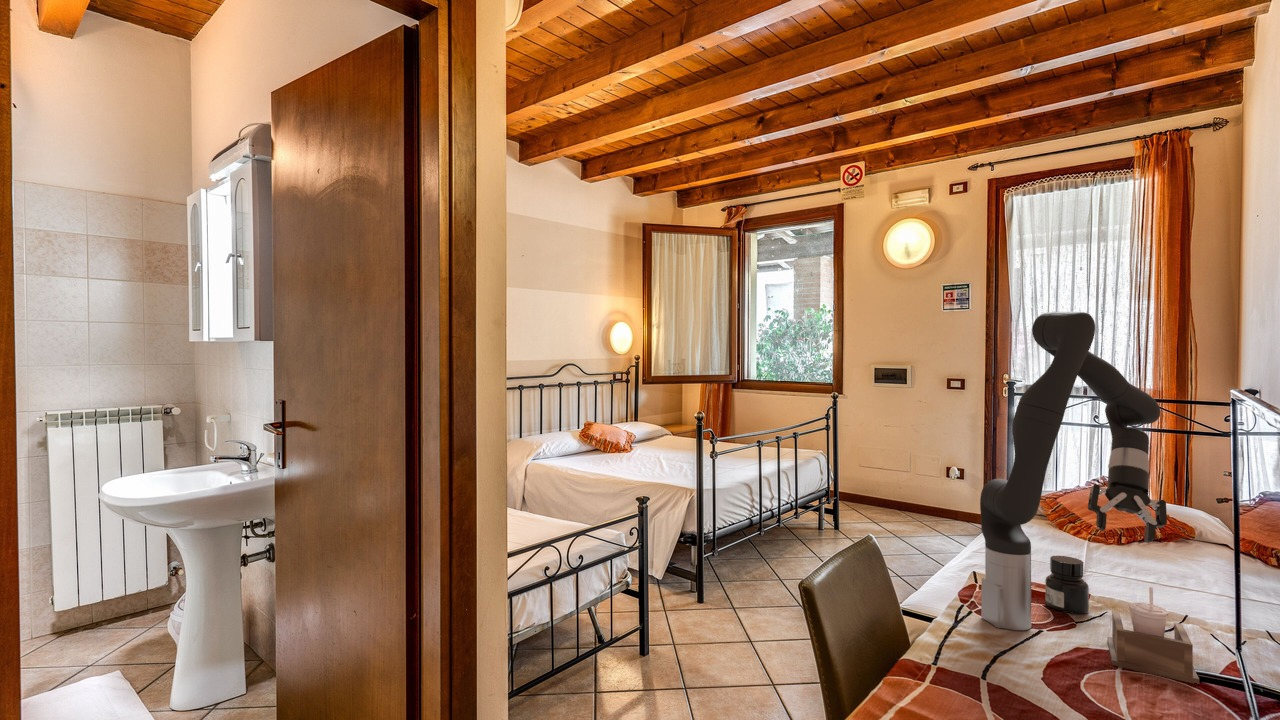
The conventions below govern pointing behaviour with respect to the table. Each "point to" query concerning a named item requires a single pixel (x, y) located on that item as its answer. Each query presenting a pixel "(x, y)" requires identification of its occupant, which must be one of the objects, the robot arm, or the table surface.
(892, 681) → the table surface
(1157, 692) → the table surface
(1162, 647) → the bottle stand
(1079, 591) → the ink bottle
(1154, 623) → the smoothie
